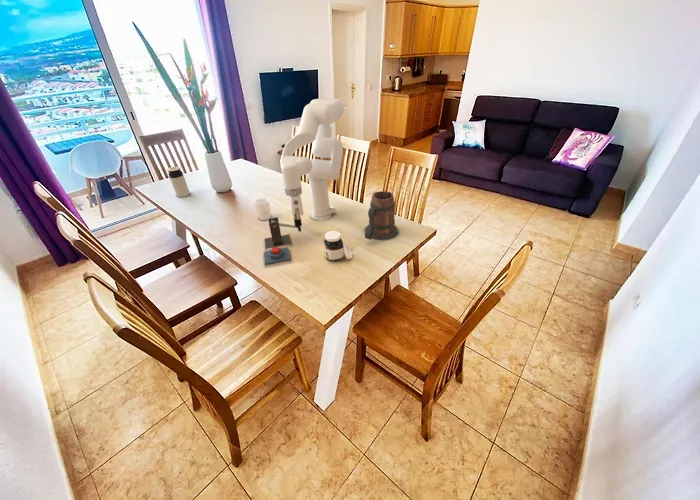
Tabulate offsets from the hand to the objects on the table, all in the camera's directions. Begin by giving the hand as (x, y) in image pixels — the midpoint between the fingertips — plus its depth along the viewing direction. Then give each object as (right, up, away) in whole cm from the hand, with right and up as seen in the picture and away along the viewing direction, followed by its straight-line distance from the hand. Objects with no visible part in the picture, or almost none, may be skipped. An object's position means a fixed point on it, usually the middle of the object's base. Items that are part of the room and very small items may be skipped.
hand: (298, 225), depth 143 cm
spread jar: (+20, -15, -8) cm, 26 cm away
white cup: (-23, +7, +24) cm, 34 cm away
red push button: (-8, -13, -10) cm, 18 cm away
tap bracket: (-10, -8, +2) cm, 14 cm away
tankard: (+39, -4, +7) cm, 40 cm away
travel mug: (-85, +24, +53) cm, 103 cm away
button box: (-8, -16, -8) cm, 20 cm away
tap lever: (-6, -1, -1) cm, 6 cm away
